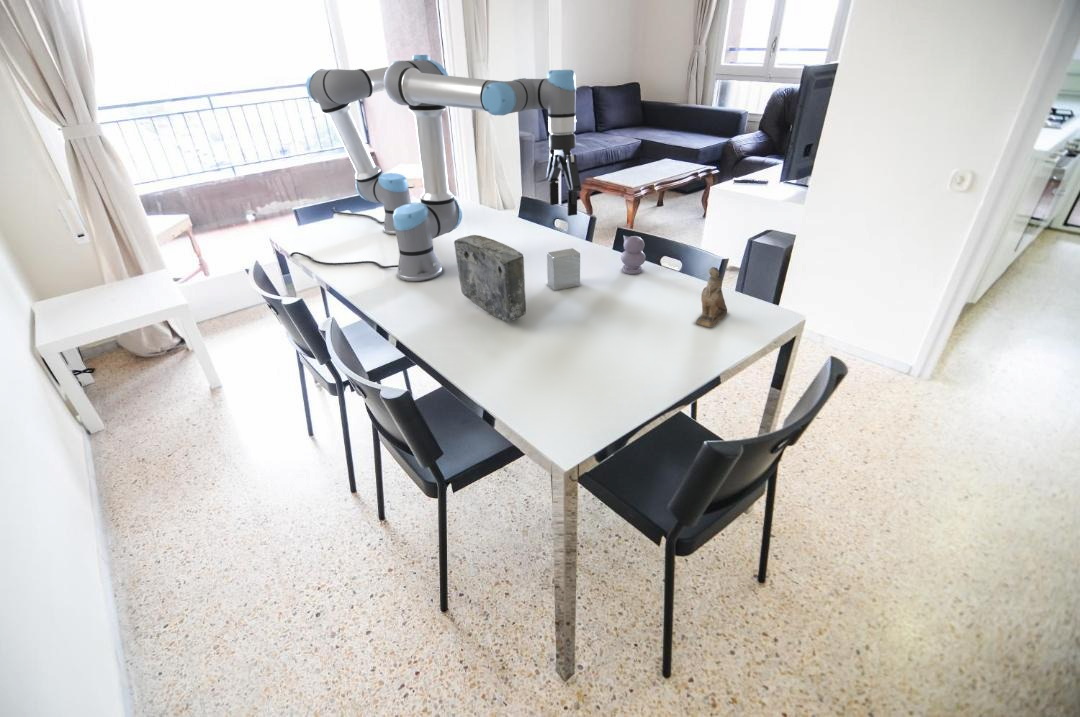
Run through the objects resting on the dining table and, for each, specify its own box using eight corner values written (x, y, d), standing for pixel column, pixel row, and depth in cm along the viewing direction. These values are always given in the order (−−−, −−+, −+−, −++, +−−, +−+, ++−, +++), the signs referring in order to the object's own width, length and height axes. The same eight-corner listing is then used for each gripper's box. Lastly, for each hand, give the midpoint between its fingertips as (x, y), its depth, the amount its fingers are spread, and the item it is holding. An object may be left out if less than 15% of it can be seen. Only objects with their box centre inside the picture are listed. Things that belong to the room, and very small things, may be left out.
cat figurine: (649, 270, 171) (652, 236, 165) (636, 276, 167) (638, 242, 160) (628, 264, 176) (630, 231, 170) (615, 271, 172) (617, 237, 165)
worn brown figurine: (709, 335, 136) (713, 280, 124) (691, 329, 139) (693, 274, 128) (730, 313, 142) (736, 258, 130) (712, 307, 145) (716, 253, 133)
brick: (554, 290, 160) (553, 257, 154) (547, 284, 164) (546, 252, 158) (580, 285, 162) (580, 253, 157) (572, 279, 167) (572, 248, 161)
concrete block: (533, 322, 141) (530, 255, 130) (507, 332, 136) (501, 263, 126) (485, 293, 159) (479, 232, 149) (460, 300, 155) (452, 238, 145)
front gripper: (594, 137, 130) (592, 218, 141) (557, 127, 150) (558, 198, 161) (568, 139, 128) (568, 221, 139) (534, 129, 148) (536, 201, 159)
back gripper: (439, 94, 219) (446, 146, 230) (429, 92, 239) (435, 140, 250) (422, 96, 216) (430, 148, 228) (413, 93, 236) (420, 141, 248)
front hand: (563, 209), depth 150 cm, fingers open, 13 cm apart
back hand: (433, 144), depth 239 cm, fingers open, 13 cm apart
